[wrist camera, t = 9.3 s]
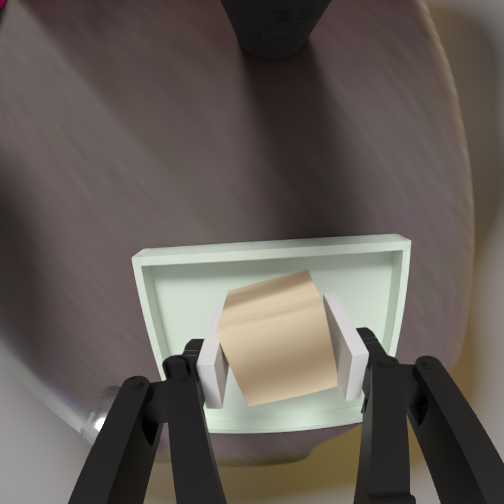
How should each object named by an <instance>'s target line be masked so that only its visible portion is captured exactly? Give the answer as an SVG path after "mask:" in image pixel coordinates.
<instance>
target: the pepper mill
mask: <svg viewBox="0 0 504 504" xmlns="http://www.w3.org/2000/svg"><path fill="white" fill-rule="evenodd" d="M5 2H6V0H0V9H1V8H2V7H3V5H4V3H5Z"/></svg>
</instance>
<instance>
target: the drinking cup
mask: <svg viewBox="0 0 504 504" xmlns="http://www.w3.org/2000/svg"><path fill="white" fill-rule="evenodd" d="M331 1H332V0H221V2H222V5H223V7H224V9H225V11H226V13H227V16H228V18H229V20H230V22H231V24H232V27H233V29H234V31H235V34H236V36H237V38H238V41H239V43H240V44H241V46H242V47H243V48H244V49H245V50H246V51H247V52H249V53H250V54H252V55H254V56H256V57H259V58H263V59H270V60H276V59H283V58H287V57H289V56H292V55H293V54H295V53H296V52H298V51H299V50H300V49H301V47H302V46H303V45H304V43H305V41H306V40H307V38H308V37H309V35H310V33H311V32H312V30H313V29H314V27H315V25H316V24H317V22H318V21H319V19H320V18H321V16H322V15H323V13H324V12H325V10H326V8H327V7H328V5H329V4H330V2H331Z"/></svg>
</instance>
